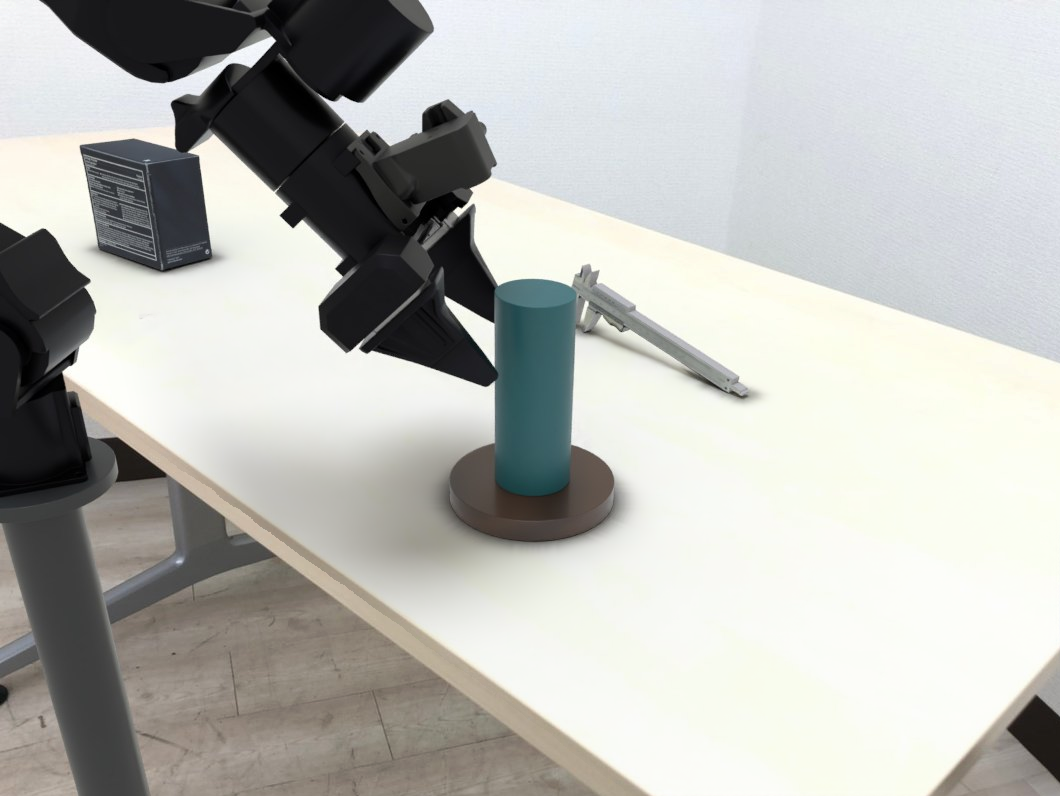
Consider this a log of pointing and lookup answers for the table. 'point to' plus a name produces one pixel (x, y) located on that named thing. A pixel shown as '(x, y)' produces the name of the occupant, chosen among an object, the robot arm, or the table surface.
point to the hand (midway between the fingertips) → (502, 350)
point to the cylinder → (534, 385)
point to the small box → (147, 202)
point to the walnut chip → (531, 499)
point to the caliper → (645, 329)
